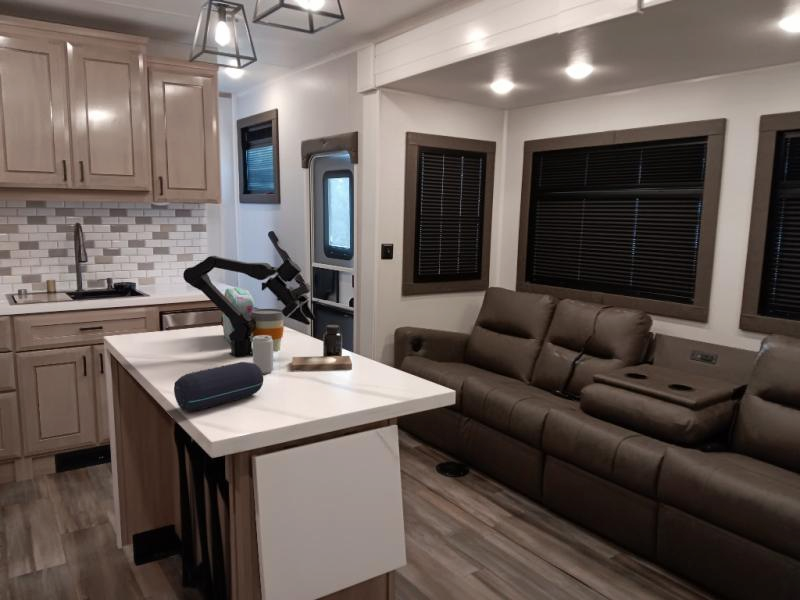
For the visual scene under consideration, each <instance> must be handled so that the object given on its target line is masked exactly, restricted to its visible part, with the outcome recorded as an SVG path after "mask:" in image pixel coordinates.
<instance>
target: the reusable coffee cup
mask: <svg viewBox="0 0 800 600" xmlns="http://www.w3.org/2000/svg"><path fill="white" fill-rule="evenodd" d="M282 310H283V309H279V308H259V309H254V310H253V311H252V312H251V316H252V317H253V318H255V319H253V320H254V321H255V322H256V328H255V330H254V331H253V332H252V333H253V338H254V337H255V336H259V335H269V336H271V337H272V340H273V351H276V352H278V350H279V351H280V350H281V343H282V338H283V337H284V326H285V325H284V319H285V318H286V317H285V316H284V315H283V314H282Z"/></svg>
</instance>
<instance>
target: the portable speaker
mask: <svg viewBox="0 0 800 600" xmlns="http://www.w3.org/2000/svg"><path fill="white" fill-rule="evenodd" d="M263 385H264V374H263V373H262V371H261V369H260V368H259V366H257V365H256V364H253V362H250V361H249V362H246V361H239V362H235V363H234V362H233V363H229V364H227V365H221V366H218V367H212V368H207V369H203V370H199V371H193V372H188V373H186V374H183V375H181V376H180V377H179V378H177V380H176V381H175V382H174V387H173V392H174V398H175V400H176V403H177V405H178V407H179V408H180V409H181V410H182V411H183V412H197V411H200V409H201V410H204V409H207V408H211V407H215V406H218V405H222V404H226V403H230V402H233V401H237V400H239V399H244V398H248V397H250V396H252V395H255V394H256V393H258V392H259V391H260V390H261V389H262V386H263ZM196 410H197V411H196Z"/></svg>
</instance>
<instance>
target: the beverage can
mask: <svg viewBox="0 0 800 600" xmlns="http://www.w3.org/2000/svg"><path fill="white" fill-rule="evenodd" d="M252 354H253V355H252V363H253V364H256V365H257V366H259V368H260V369H261V371H262V373H263V375H267V374H268V373H269V374H271V373H272V372H273V371H274V352H273V340H272V337H271V336H269V335H259V336H255V337H254V340H253V342H252ZM269 374H268V375H269Z"/></svg>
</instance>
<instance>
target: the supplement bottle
mask: <svg viewBox="0 0 800 600" xmlns="http://www.w3.org/2000/svg"><path fill="white" fill-rule="evenodd" d="M325 327H326V328H325V331H326V332H325V333H324V334H323V339H322V340H323V342H322V348H323V349H322V351H323V352H322V355H323V356H343V335H342V333H341V332H340V331H341V330H340V327H341V326H340V325H337V324H328V325H326V326H325Z"/></svg>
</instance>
